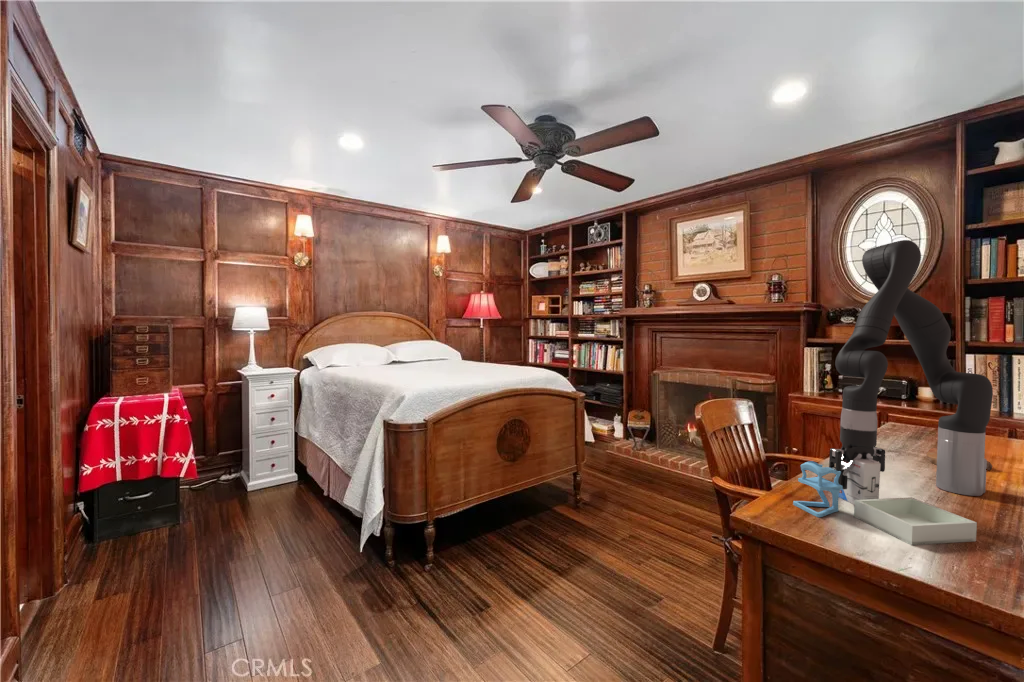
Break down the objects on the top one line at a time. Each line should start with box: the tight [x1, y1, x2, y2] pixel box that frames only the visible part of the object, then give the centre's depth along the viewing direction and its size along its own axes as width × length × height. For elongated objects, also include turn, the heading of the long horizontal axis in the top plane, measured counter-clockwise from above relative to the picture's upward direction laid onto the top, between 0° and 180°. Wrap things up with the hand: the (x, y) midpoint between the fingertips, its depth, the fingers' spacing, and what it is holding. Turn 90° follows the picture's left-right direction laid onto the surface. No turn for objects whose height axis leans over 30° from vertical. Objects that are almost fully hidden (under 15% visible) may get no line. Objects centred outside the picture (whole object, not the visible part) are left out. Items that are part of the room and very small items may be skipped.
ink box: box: [838, 459, 881, 505], centre depth 114 cm, size 9×5×12 cm, turn 5°
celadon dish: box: [853, 496, 978, 546], centre depth 99 cm, size 16×14×4 cm
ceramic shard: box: [926, 447, 993, 471], centre depth 146 cm, size 15×6×15 cm
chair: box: [792, 460, 843, 518], centre depth 109 cm, size 8×8×12 cm
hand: (856, 487), depth 114 cm, fingers open, 7 cm apart
